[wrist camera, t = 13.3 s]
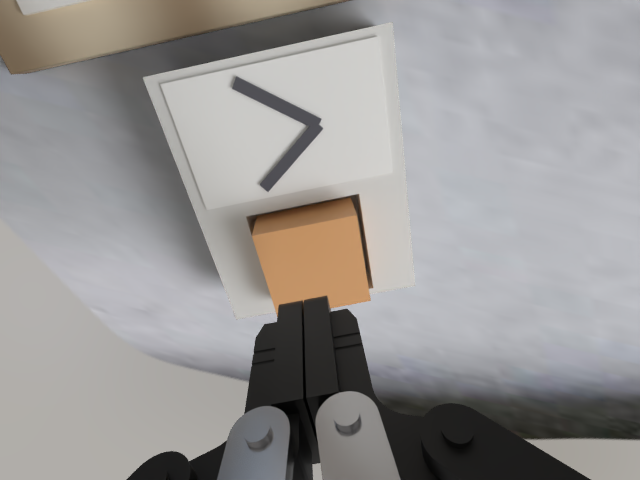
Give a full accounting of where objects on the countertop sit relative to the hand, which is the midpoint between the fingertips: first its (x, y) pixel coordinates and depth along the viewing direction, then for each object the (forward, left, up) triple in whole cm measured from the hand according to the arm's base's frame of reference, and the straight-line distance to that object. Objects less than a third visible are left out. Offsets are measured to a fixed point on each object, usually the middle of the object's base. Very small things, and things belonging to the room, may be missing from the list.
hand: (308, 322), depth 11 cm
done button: (0, 0, -5) cm, 5 cm away
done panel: (0, -3, -6) cm, 7 cm away
